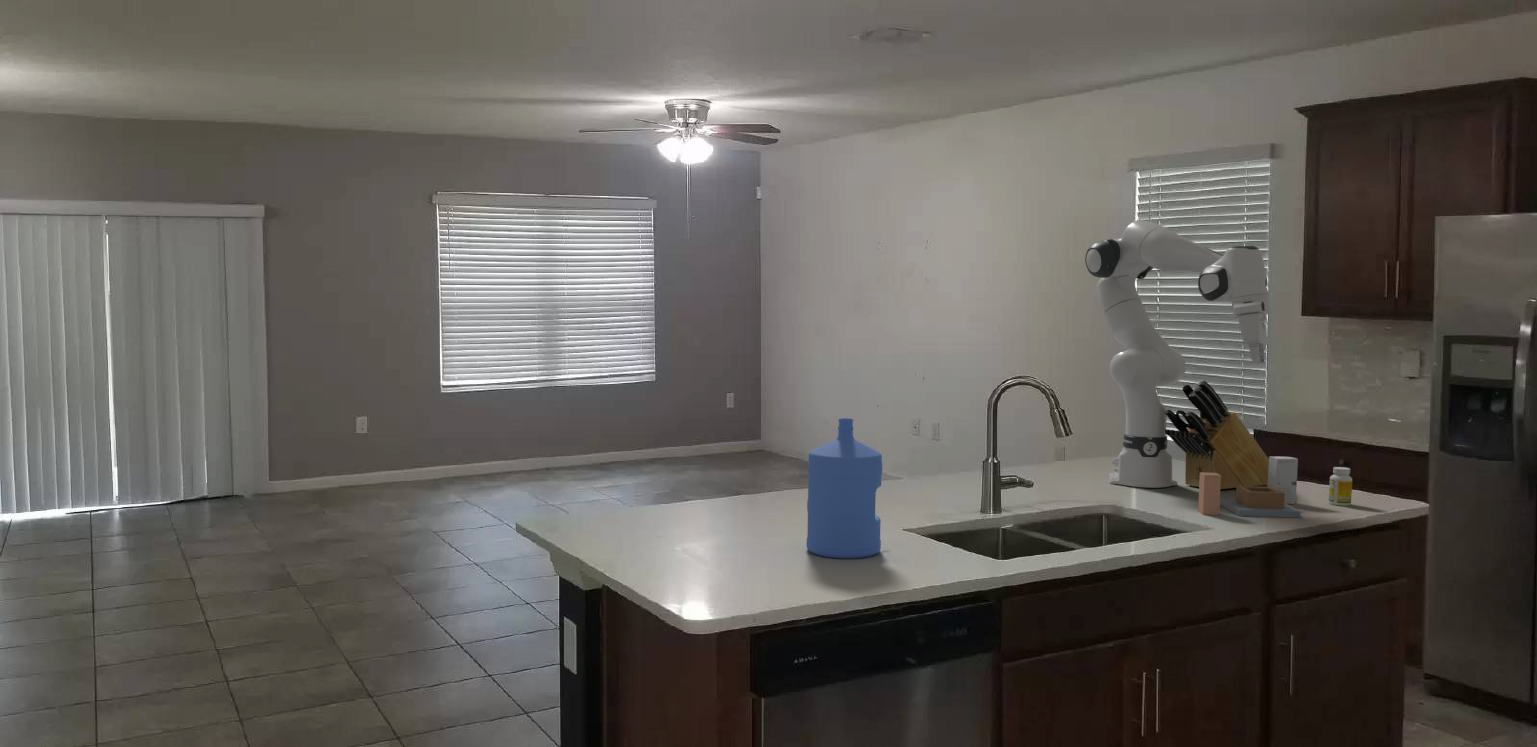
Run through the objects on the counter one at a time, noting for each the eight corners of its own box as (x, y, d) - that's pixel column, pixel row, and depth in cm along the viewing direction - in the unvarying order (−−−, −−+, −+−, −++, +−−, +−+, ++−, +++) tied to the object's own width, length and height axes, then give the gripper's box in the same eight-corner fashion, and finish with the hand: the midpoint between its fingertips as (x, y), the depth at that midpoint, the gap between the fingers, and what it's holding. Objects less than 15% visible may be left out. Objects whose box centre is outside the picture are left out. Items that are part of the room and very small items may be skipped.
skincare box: (1275, 504, 310) (1277, 458, 309) (1265, 501, 315) (1267, 456, 314) (1297, 504, 311) (1299, 458, 310) (1287, 500, 316) (1289, 455, 315)
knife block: (1158, 487, 334) (1162, 378, 332) (1249, 480, 349) (1254, 375, 347) (1187, 494, 324) (1192, 381, 322) (1280, 486, 339) (1285, 378, 336)
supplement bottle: (1324, 503, 312) (1326, 467, 312) (1334, 501, 316) (1336, 465, 315) (1345, 506, 308) (1347, 470, 307) (1354, 504, 312) (1356, 468, 311)
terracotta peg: (1198, 511, 299) (1199, 472, 298) (1214, 511, 299) (1216, 472, 298) (1202, 514, 295) (1204, 474, 294) (1219, 515, 295) (1221, 475, 294)
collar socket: (1219, 504, 309) (1220, 483, 308) (1279, 506, 308) (1279, 485, 307) (1238, 515, 294) (1239, 493, 293) (1300, 517, 293) (1301, 495, 292)
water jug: (838, 563, 239) (840, 425, 237) (791, 548, 251) (793, 417, 249) (896, 553, 248) (898, 420, 246) (848, 539, 260) (850, 413, 258)
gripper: (1243, 312, 307) (1250, 365, 306) (1232, 307, 290) (1240, 363, 288) (1269, 309, 304) (1276, 362, 303) (1260, 303, 287) (1267, 360, 285)
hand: (1258, 363), depth 296 cm, fingers open, 8 cm apart
